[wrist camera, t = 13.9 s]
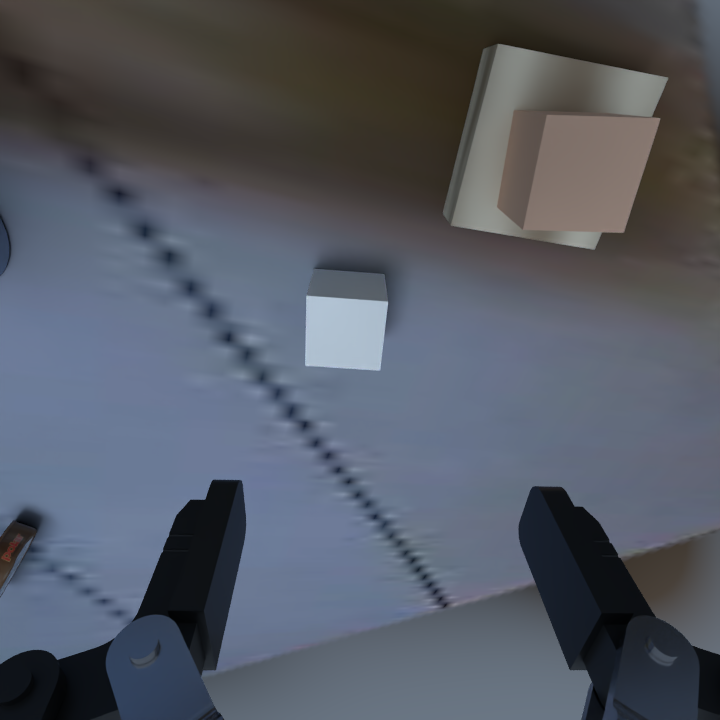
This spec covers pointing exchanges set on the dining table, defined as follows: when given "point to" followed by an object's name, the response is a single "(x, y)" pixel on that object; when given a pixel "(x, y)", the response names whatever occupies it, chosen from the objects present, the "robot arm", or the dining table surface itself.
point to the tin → (13, 550)
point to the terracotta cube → (574, 169)
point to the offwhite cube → (345, 319)
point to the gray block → (531, 93)
